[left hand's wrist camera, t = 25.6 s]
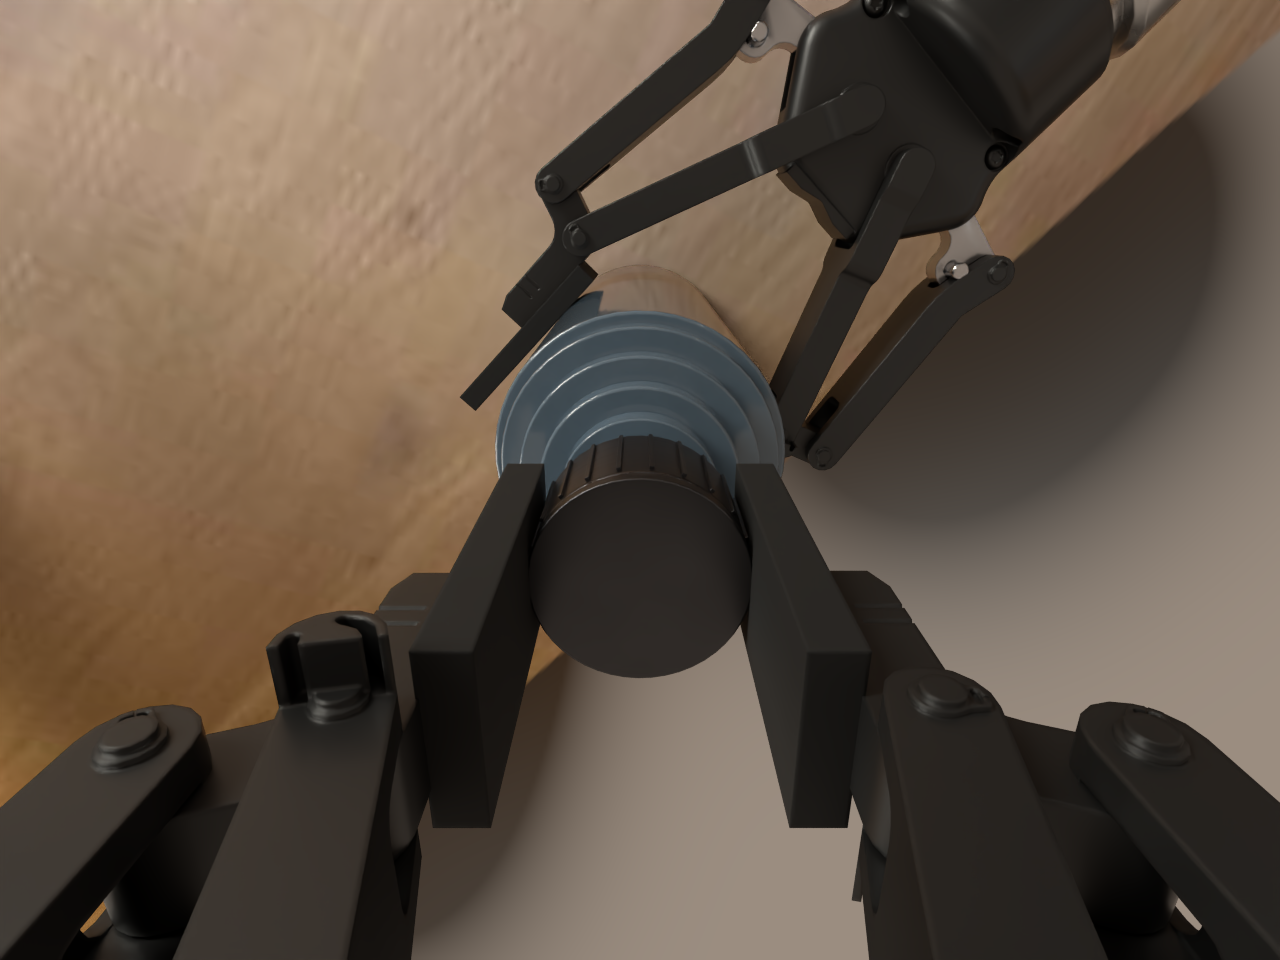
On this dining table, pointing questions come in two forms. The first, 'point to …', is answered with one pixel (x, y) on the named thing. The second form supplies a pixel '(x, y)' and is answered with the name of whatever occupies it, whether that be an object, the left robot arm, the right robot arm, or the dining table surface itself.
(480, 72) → the dining table surface
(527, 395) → the bottle
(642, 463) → the cap
